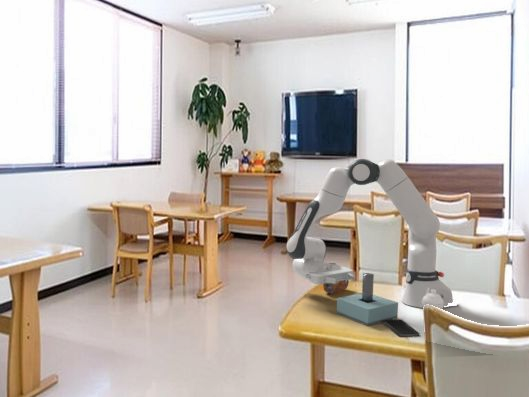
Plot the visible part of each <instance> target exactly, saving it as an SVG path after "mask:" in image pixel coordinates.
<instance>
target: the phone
mask: <svg viewBox="0 0 529 397" xmlns="http://www.w3.org/2000/svg"><path fill="white" fill-rule="evenodd" d="M382 324H383V325H384V326H386V327H387V328H388V329H389V330H390V331H391V332H392V333H394V335H396V336H397V337H400V338H407V337H408V338H411V337H413V336H414V337H420V336H421V334H420V332H419V331H417V329H414V327H412V326H410V325H409V324H408V323H407V322H406V321H404V320H403V319H393V320H383V322H382Z"/></svg>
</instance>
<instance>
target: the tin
mask: <svg viewBox="0 0 529 397" xmlns="http://www.w3.org/2000/svg"><path fill="white" fill-rule="evenodd" d="M349 281H350V280H349V279H348V280H343V281H337V282H338V283H336V284H333V283H325V284H322V286H323V290H324V292H325V293H327V294H331V295H333V294H336V293H341V292H344V291H346V290H347V288H348V287H349Z"/></svg>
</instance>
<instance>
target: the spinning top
mask: <svg viewBox="0 0 529 397" xmlns="http://www.w3.org/2000/svg"><path fill="white" fill-rule="evenodd" d="M426 304H429V305H433V306H435V307H438V308H440V309H444V308H443V306H444V301H443V299H442V298H441V296H440V295H438V294H436V290H431V293H429V294H426V295H425V296H424V297H423V299H422V305H423V307H424V305H426Z"/></svg>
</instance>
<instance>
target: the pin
mask: <svg viewBox="0 0 529 397" xmlns="http://www.w3.org/2000/svg"><path fill="white" fill-rule="evenodd" d="M374 276H375V274H374V273H372V272H371V273H370V272H364V273H362V286H361V288H362V290H361V293H362V301H363V302H366V303H371V302H373V295H374V279H375V278H374Z"/></svg>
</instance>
